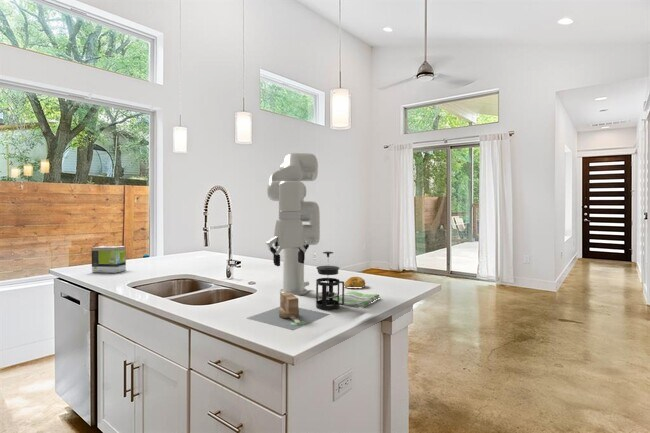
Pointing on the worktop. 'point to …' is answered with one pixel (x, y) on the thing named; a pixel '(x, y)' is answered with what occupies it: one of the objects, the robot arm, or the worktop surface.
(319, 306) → the french press
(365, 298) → the dish towel
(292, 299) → the knob
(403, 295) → the worktop surface
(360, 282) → the bagel
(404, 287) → the worktop surface
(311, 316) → the dial plate
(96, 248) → the tea box
